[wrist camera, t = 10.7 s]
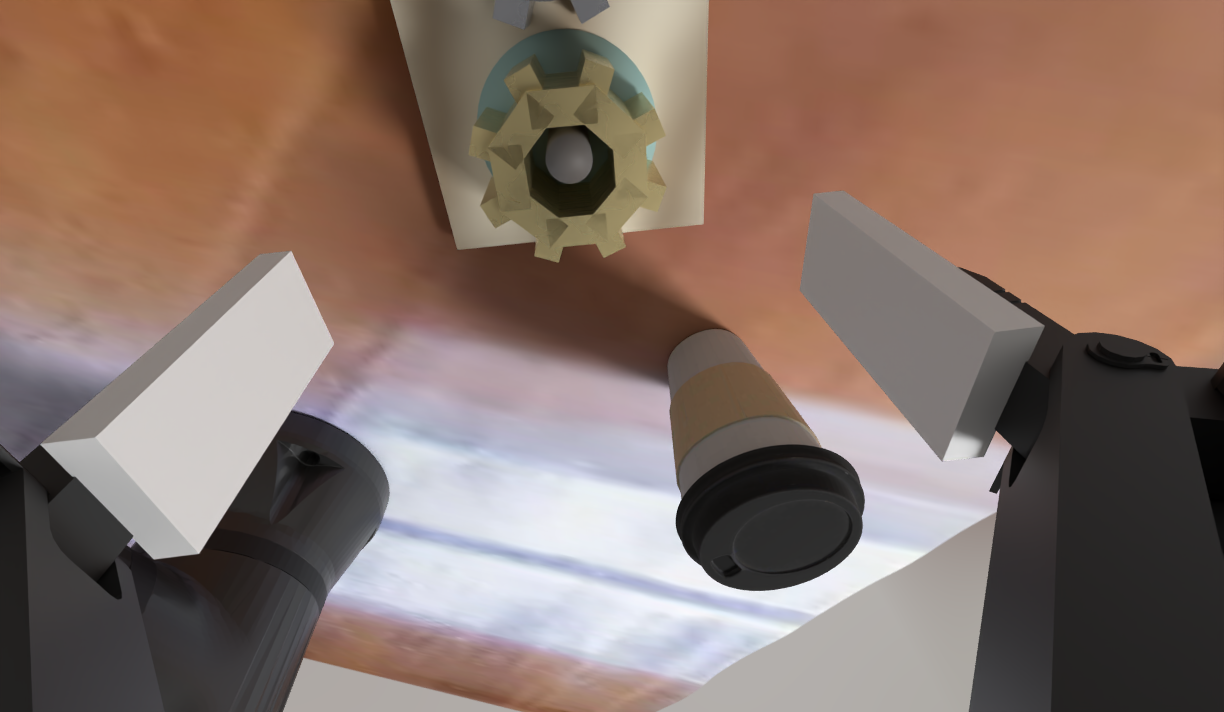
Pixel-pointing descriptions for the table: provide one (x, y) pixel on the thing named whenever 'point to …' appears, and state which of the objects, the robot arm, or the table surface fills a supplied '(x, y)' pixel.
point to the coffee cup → (753, 473)
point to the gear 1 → (519, 3)
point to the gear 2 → (578, 206)
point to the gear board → (488, 49)
